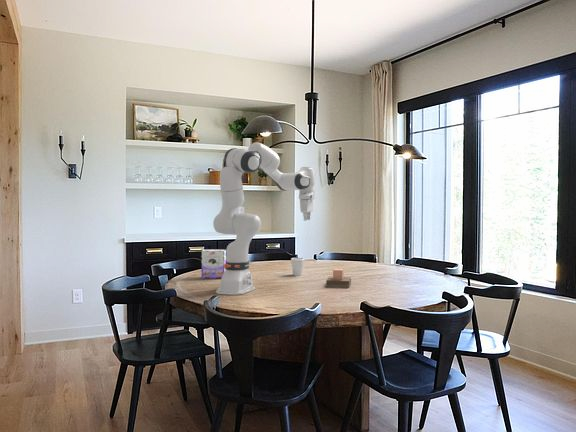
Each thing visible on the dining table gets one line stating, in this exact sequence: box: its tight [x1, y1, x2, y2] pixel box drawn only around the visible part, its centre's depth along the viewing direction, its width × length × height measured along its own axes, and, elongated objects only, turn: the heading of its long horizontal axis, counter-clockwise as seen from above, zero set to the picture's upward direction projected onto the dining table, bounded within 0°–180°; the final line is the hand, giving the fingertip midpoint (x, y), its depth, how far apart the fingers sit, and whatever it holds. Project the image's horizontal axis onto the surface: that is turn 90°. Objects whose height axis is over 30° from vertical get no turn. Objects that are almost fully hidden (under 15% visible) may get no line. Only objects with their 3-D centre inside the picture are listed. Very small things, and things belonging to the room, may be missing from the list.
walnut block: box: [325, 276, 352, 289], centre depth 252 cm, size 12×12×4 cm
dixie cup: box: [290, 257, 305, 277], centre depth 284 cm, size 8×8×10 cm
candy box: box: [200, 249, 227, 279], centre depth 274 cm, size 14×6×16 cm, turn 84°
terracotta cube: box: [332, 268, 345, 280], centre depth 252 cm, size 5×5×5 cm
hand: (306, 220), depth 268 cm, fingers open, 8 cm apart
